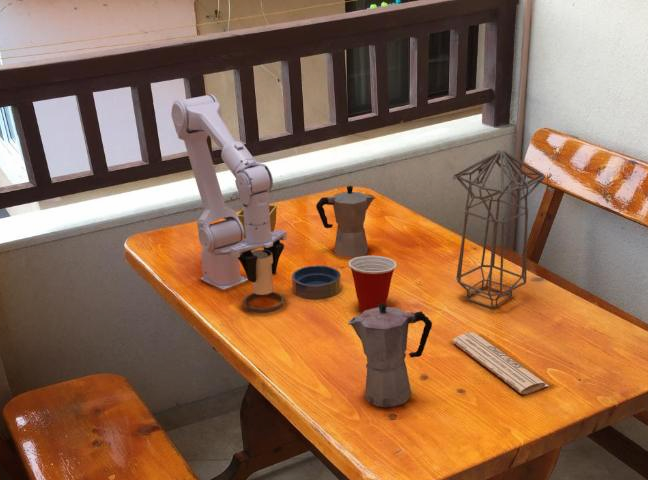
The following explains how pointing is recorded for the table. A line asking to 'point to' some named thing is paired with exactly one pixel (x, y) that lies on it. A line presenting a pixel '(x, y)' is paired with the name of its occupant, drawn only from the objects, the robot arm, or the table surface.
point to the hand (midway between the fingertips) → (261, 276)
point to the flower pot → (272, 218)
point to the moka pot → (388, 352)
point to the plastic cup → (372, 279)
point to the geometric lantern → (486, 165)
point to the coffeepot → (348, 221)
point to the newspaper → (499, 363)
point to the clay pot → (263, 272)
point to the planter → (316, 282)
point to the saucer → (263, 310)
